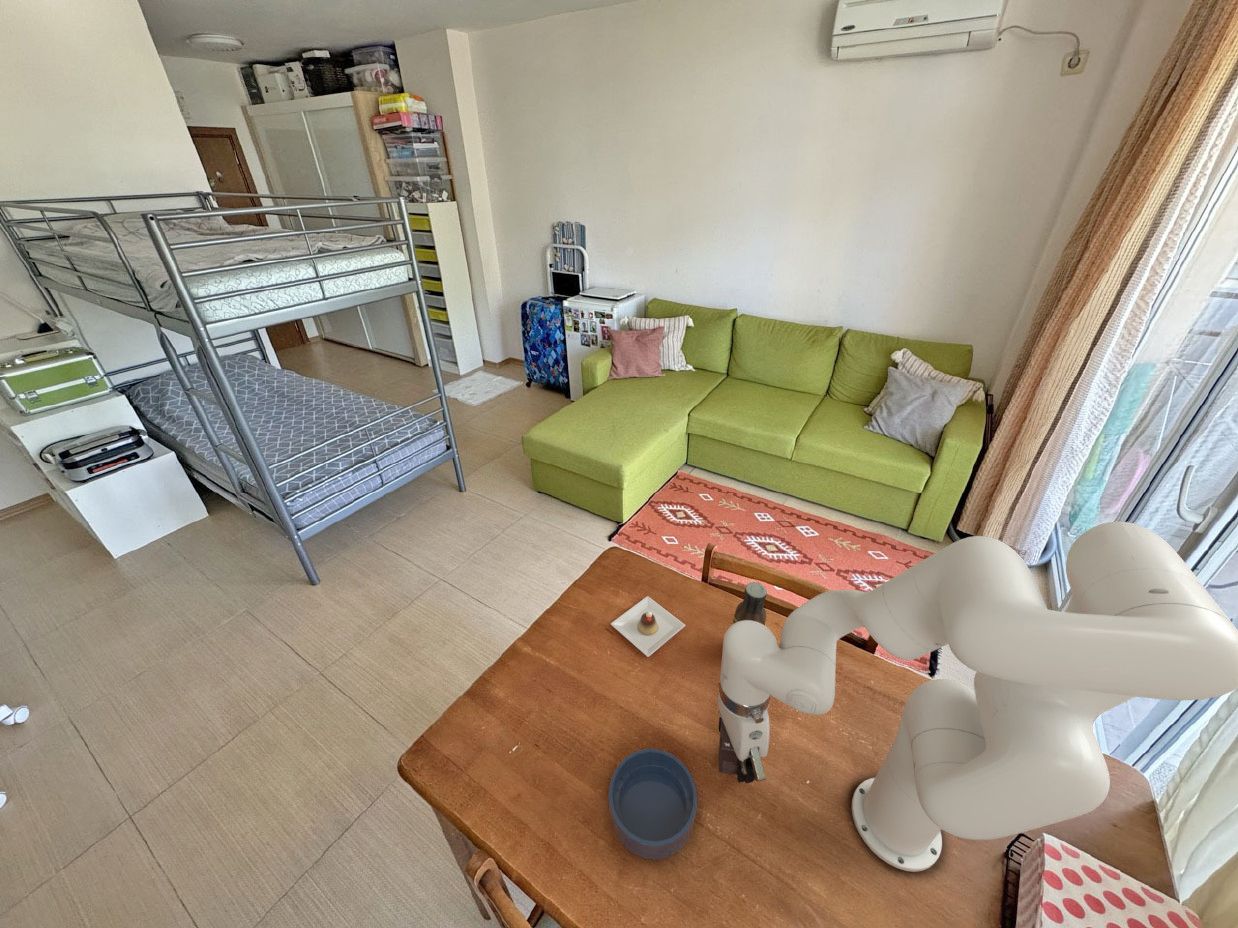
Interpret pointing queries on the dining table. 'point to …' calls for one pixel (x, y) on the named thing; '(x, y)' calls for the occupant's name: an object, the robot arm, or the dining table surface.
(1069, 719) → the robot arm
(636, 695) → the dining table surface
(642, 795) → the bowl
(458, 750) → the dining table surface
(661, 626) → the dessert
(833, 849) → the dining table surface
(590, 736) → the dining table surface
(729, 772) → the box
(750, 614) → the sauce bottle
